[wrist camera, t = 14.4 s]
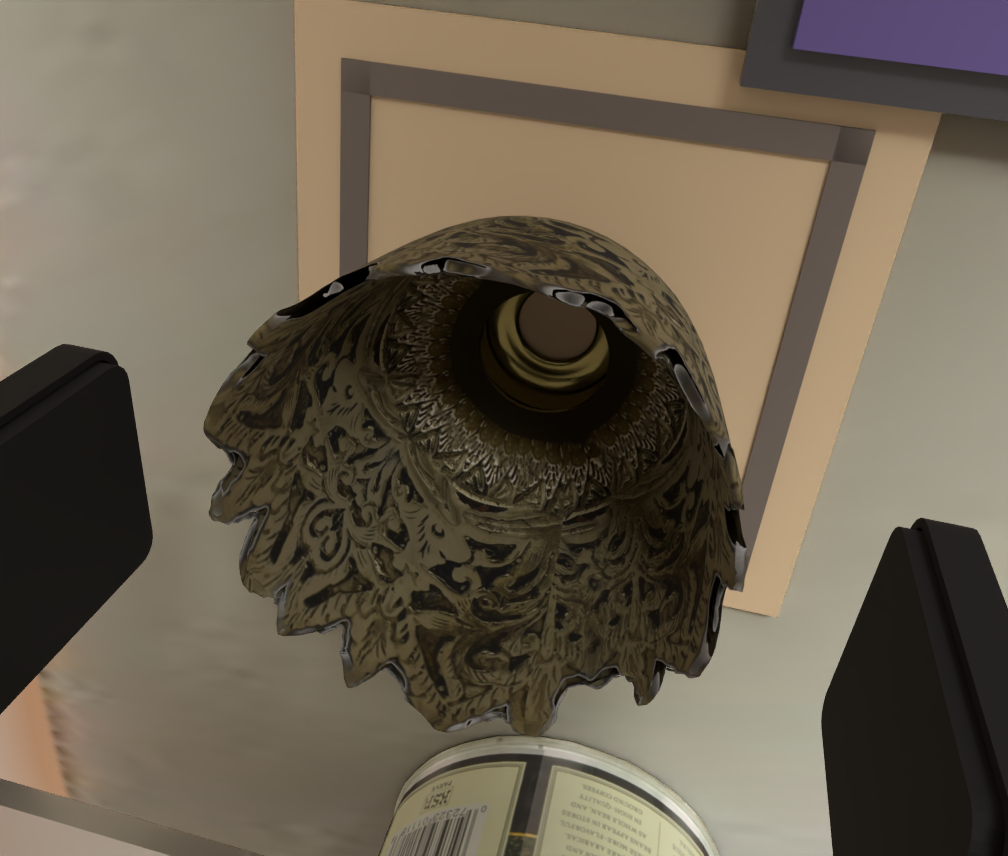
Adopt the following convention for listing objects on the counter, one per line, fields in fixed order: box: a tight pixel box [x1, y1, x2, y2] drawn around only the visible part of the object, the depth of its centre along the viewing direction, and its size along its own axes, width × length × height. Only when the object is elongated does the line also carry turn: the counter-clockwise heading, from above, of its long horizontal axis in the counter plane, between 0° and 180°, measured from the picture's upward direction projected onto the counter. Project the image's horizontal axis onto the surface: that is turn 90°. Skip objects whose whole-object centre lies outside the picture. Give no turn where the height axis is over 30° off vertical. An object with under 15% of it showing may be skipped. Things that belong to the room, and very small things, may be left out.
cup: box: [204, 216, 747, 737], centre depth 15 cm, size 8×7×8 cm
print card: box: [294, 0, 942, 618], centre depth 19 cm, size 12×12×1 cm
